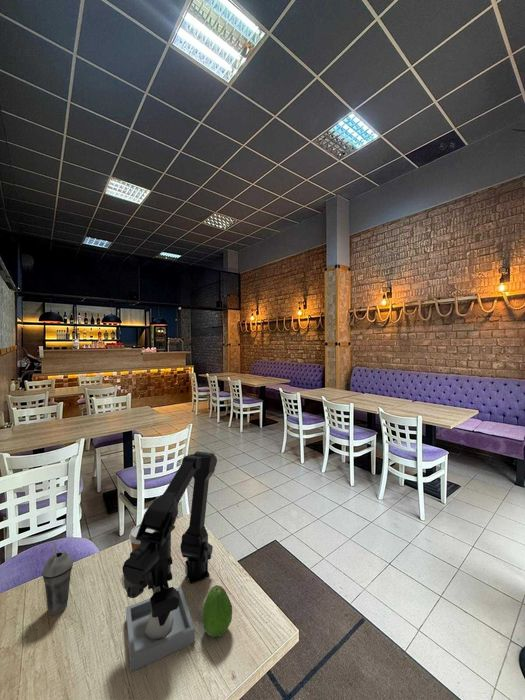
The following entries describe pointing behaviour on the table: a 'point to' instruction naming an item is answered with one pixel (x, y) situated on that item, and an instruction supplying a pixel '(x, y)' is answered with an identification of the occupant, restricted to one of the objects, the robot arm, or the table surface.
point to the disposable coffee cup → (133, 535)
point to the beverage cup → (57, 581)
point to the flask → (154, 628)
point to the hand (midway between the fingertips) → (159, 612)
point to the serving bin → (152, 650)
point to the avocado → (216, 612)
